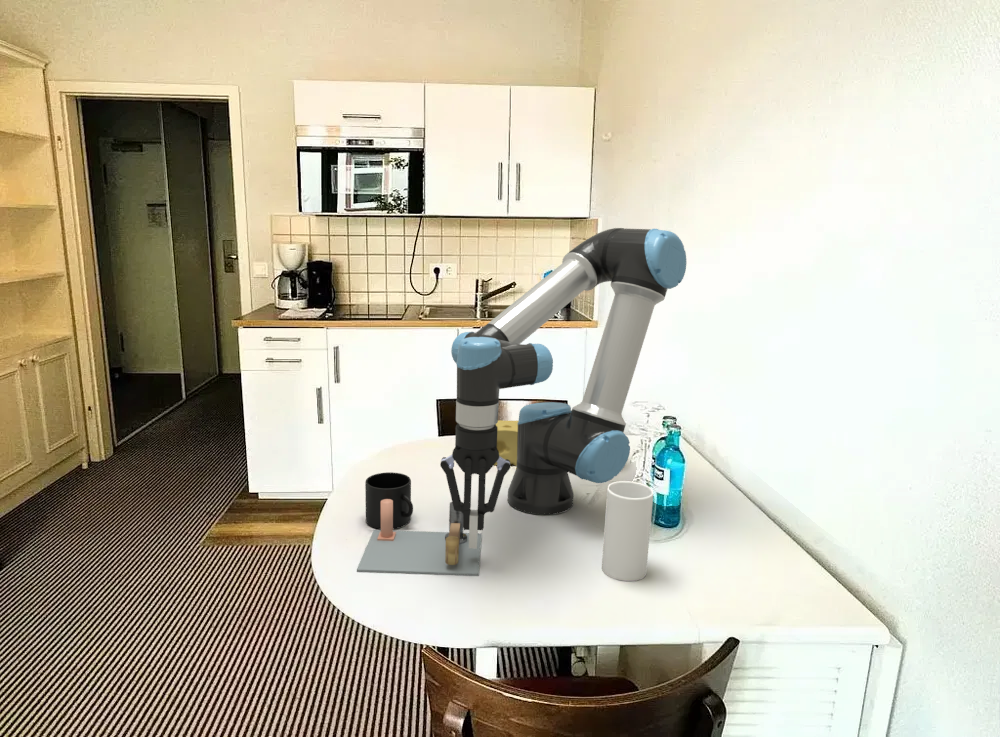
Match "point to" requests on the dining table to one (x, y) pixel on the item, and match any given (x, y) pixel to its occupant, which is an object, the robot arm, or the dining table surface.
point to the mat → (418, 554)
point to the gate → (452, 544)
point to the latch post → (386, 521)
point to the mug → (388, 488)
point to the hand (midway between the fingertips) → (473, 544)
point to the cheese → (507, 440)
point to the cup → (627, 530)
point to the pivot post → (456, 518)
